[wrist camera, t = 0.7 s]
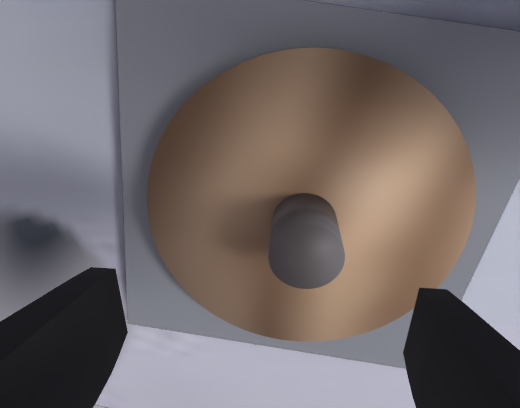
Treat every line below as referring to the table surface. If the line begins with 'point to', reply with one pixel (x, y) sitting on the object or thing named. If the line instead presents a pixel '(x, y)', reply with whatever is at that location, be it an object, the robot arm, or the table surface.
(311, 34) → the grey square pad
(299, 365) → the table surface
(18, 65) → the table surface
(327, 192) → the walnut lid
